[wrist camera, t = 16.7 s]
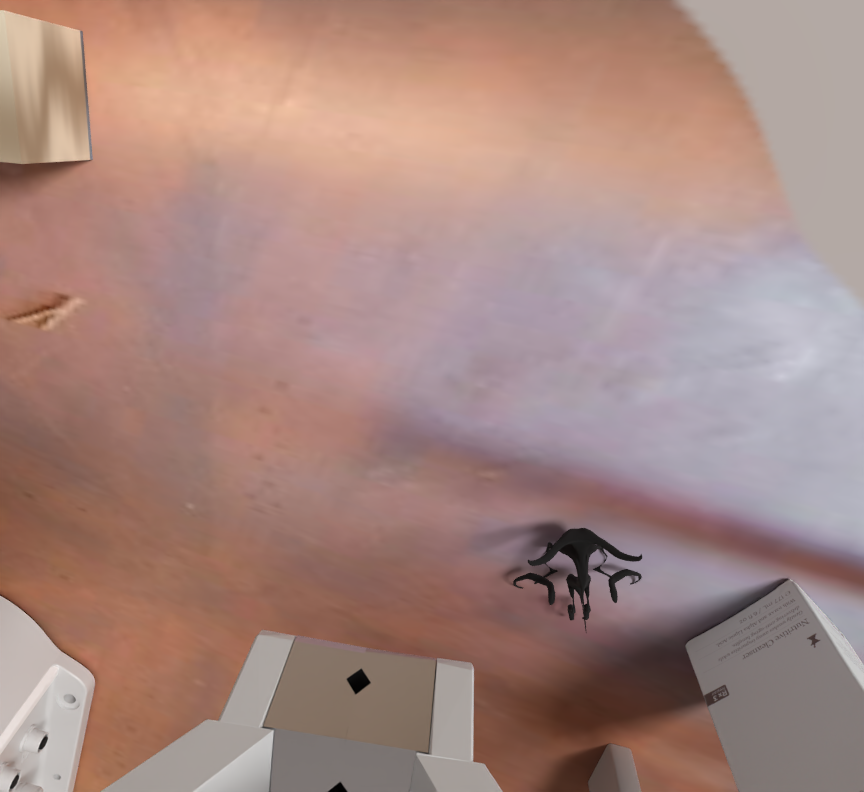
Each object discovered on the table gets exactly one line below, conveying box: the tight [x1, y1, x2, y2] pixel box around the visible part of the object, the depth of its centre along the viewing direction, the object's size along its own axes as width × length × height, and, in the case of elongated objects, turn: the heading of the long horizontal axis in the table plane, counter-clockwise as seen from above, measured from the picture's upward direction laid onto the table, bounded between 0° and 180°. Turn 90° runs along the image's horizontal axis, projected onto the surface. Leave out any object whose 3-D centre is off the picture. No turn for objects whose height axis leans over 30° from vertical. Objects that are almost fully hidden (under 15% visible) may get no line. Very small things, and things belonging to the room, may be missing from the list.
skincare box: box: [685, 579, 864, 792], centre depth 37 cm, size 8×6×15 cm
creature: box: [513, 528, 642, 629], centre depth 41 cm, size 8×5×8 cm
